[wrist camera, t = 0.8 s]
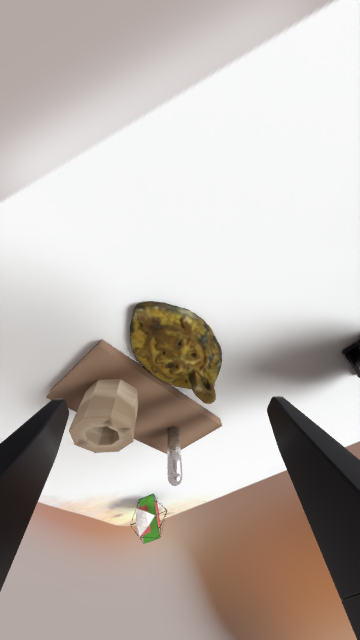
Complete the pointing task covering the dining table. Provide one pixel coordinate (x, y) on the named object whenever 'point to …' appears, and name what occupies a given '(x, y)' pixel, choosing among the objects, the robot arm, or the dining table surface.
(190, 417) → the board
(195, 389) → the olive gold carved ornament
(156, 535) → the geometric puzzle
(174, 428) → the steel post
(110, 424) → the beech bead
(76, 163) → the dining table surface
